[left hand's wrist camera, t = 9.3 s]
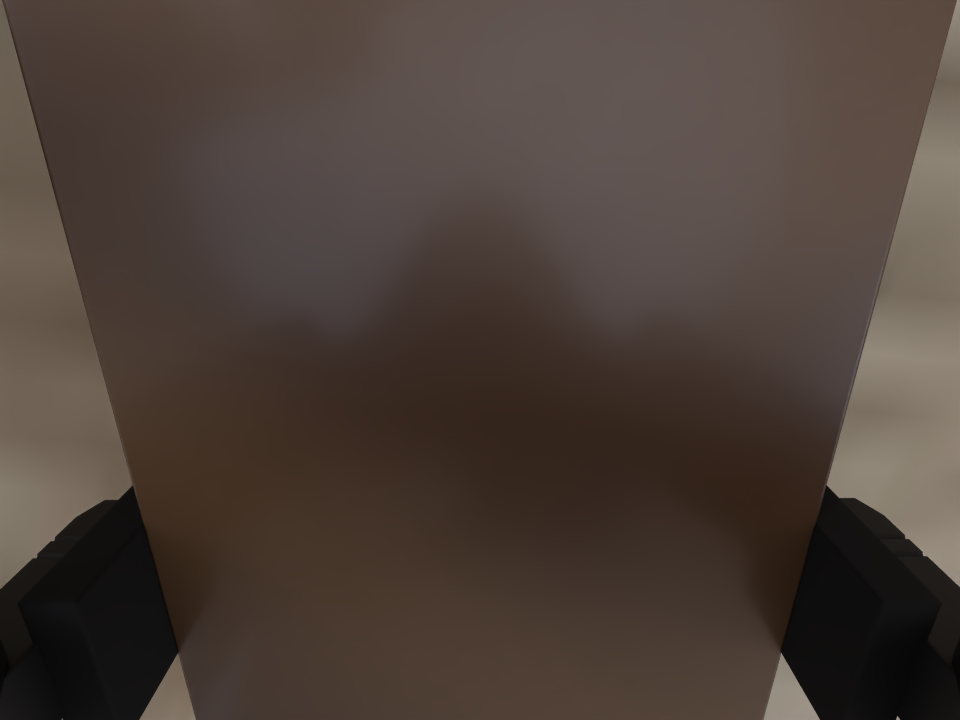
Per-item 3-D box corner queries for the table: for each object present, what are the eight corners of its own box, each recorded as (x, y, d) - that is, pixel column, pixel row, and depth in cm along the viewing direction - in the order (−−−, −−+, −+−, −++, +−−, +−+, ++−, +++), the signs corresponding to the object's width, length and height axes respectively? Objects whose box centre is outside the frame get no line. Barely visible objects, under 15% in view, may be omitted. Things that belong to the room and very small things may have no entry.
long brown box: (280, -132, 15) (-215, -791, 4) (679, -132, 15) (1174, -792, 4) (340, 446, 21) (203, 755, 11) (618, 446, 21) (755, 754, 11)
